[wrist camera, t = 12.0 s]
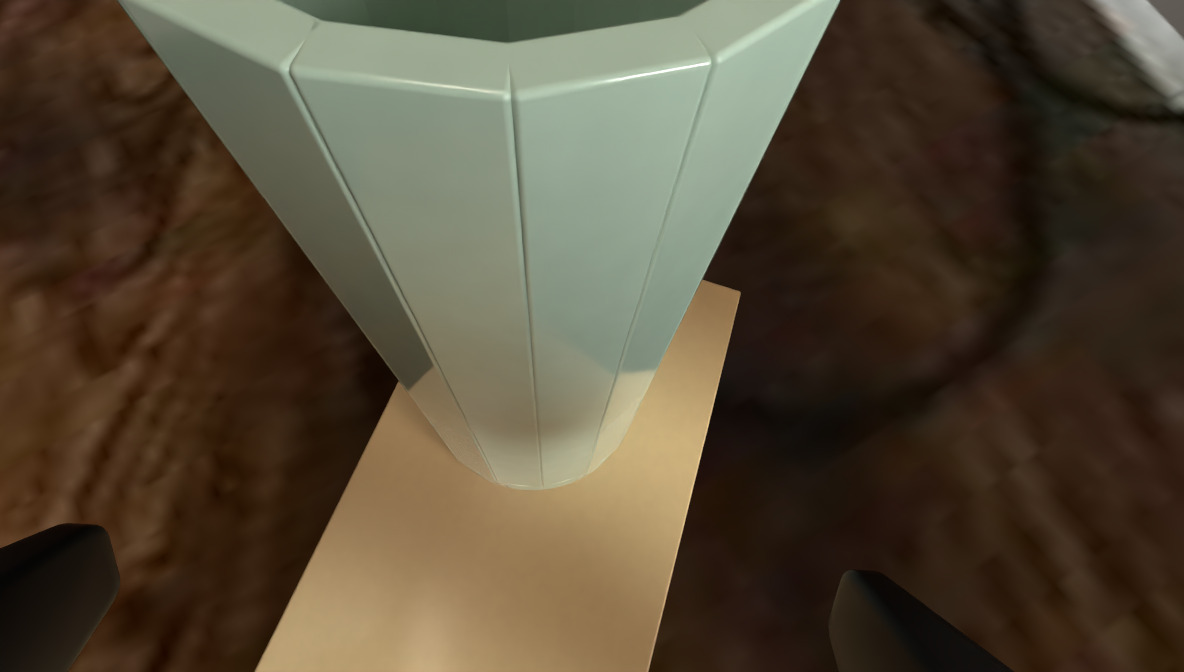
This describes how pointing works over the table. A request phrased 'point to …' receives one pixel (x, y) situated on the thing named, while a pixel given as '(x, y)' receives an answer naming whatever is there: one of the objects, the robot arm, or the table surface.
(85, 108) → the table surface
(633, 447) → the desk shelf
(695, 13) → the pencil cup
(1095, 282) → the table surface
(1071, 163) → the table surface
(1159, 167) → the table surface
